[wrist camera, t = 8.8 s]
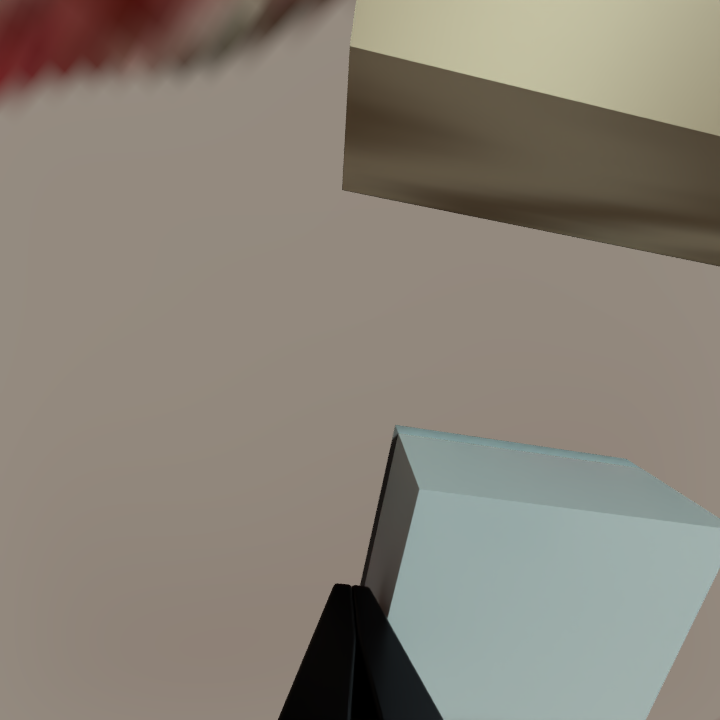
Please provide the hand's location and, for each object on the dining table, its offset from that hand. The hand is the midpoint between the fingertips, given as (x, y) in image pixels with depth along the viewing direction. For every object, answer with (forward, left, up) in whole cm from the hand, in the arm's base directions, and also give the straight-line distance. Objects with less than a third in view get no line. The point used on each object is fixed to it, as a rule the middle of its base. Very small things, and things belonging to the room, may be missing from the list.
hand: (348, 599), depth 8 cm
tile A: (+3, -2, -2) cm, 5 cm away
